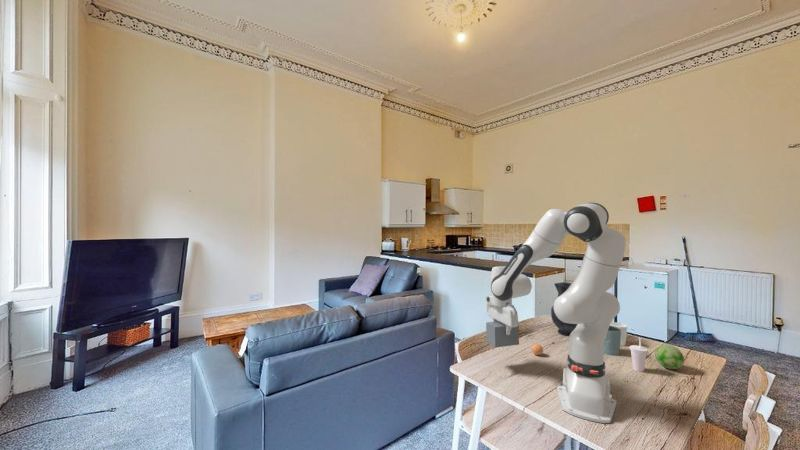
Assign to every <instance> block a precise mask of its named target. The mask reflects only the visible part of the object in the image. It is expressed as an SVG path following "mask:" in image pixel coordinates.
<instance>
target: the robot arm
mask: <svg viewBox="0 0 800 450" xmlns="http://www.w3.org/2000/svg"><path fill="white" fill-rule="evenodd" d="M609 215H610V214H609V211H608V210H607V208H606V207H605V206H604V205H602V204H601V203H597V202H587V203H586V202H585V203H582V204H579V205H576V206H574V207H572V208H571V209H569V210H568V211H566V210H563V209H559V208H551V209H550V208H549V210H548V211H546V212H545V214H544V215H543V216H542V217H541V218H540V219H539V221H538V222H537V224H535V227H534V229H533V230H532V232H531V233H530V235H529V236H528V237H527V239H526V240H525V241H524V242H523V244H522V245H521V246H520V247H518V249H517V250H516V252H515V253H514V254H513V256H512V257H511V258H510V260H509V261H508V262H507V264H500V265H495V266H493V267H492V269H491V271H490V272H491V273H490V290H491V292H490V295H489V296H486V297H485V301H486V305H485V306H486V314H487V316H488V317H489V318H491V320H492V322H495V321H499V322H501V323H503V324H505V325H506V327H507V328H506V330H505V334H506V335H510V331H511V329H512V327H517V326H518V325H519V315H518V311H517V308H516V307H515V306H514V304H512V303H513V299H515V298H516V299H517V298H521V297H526V296H528V295H529V294H530V293H531V290H532V288H533V287H532V286H533V285H532V282H531V280H530V278H529V277H528V276H527V275H526V274H523V272H524V271H525V269H526V268H527V267H529V266H530V265H531V264H534V263H536V262H538V261H541V260H544V259H546V258H549V257H551V256H553V255H554V253H555V252H556V251H557V250H558V249H559V248H560V246H561V245H562V244H563V241H564V240H565V238H566V237H567V236H568V234H570V235H572V236H573V237H575V238H578V239H579V240H581V241H583V243H584V242H585V243H587V244H586V248H585V249H586V250H585V252H584V255H583V258H582V262H581V265H580V268H579V271H578V272H577V274H576V277H575V278H574V279H573V281H572V282H571V283H572V284H571V285H570V286H569V288H568V289H567V290H566V291H565V292H564V293H563V294H562V295H560V296H559V297H557V296H556V298H555V300H554V301H553V305H554V312H555V314H556V316H557V317H558V319H559V320H561V321H562V322H564V323H570V324H577V326H576V328H575V329H574V330H573V331H572V332H571V334H570V336H568V354H567V360H566V361H567V366H566V367H564V368H563V370H562V371H563V372H562V373H563V375H562V382H561V385H558V386H557V388H556V390H557V394H558V398H559V403H560V407H561V409H562V411H564V412H566V413H568V414H569V415H572V416H574V417H578V418H581V419H584V420H587V421H591V422H596V423H602V424H610V423H611V422H612V419H613V416H614V413H615V410H616V407H617V400H616V399H614V398H613V394H611V392H610V391H612V386H611V385H610V378H609V377H608V376H607V374H606V362H605V360H604V358H605V357H604V356H605V353H604V343H605V338H606V334H607V331H608V329H609V326H610V324H611V322H613V320H614V319H615V317H617V315H618V314H620V310H621V305H620V301H619V300H618V298H617V297H616V296H615V295H614V294H613V293H611V292H608V290H610V289H612V287H613V286H614V285H615V282H616V280H617V277H618V274H619V272H620V268H621V266H622V262H623V259H624V256H625V251H626V243H627V240H626V237H625V235H624V234H623V233H622V232H621V231H619V230H617V229H614V228H611V227H610V226H608V223H609V218H610V217H609Z"/></svg>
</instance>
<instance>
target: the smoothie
mask: <svg viewBox="0 0 800 450" xmlns="http://www.w3.org/2000/svg"><path fill="white" fill-rule="evenodd" d="M638 340H639V342H638V345H636V344H632V345H629V350H630V354H631V362H632V369H633V370H634V371H635V372H640V373H644V372H645V365H646V359H647V356H648V355H647V354H648V353H649V351H648V350H649V349H648V348H647V347H645V346H642V338H641V337H639V339H638Z"/></svg>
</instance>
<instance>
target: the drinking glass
mask: <svg viewBox="0 0 800 450" xmlns="http://www.w3.org/2000/svg"><path fill="white" fill-rule="evenodd" d="M620 337H621V329H620V328H618V327H615V326H611V325H610V326H609V329H608V331H607V334H606V338H605V343H604V355H609V356H619V355H620V352H621V346H620V340H621V339H620Z"/></svg>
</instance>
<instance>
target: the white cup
mask: <svg viewBox="0 0 800 450" xmlns="http://www.w3.org/2000/svg"><path fill="white" fill-rule="evenodd" d="M610 325H611V326H615V327H618V328H620V329H621V337H620V339H621V340H620V347H621V346H623V347H624V346H626V344H627V343H626V342H627V334H628V332H627V331H628V325H627V324H625V323H621V322H617V321H612V322H611V324H610Z"/></svg>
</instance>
